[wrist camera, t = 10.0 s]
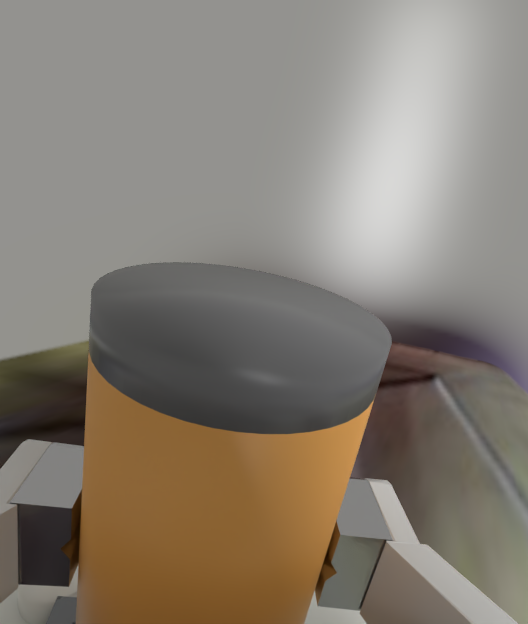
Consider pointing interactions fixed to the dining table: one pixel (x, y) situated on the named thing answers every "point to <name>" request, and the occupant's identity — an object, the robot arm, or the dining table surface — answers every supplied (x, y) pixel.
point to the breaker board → (63, 601)
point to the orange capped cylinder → (217, 442)
